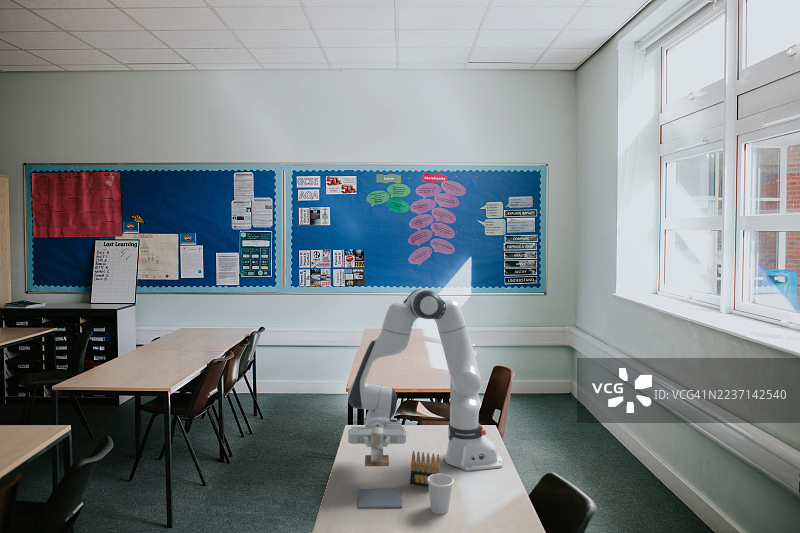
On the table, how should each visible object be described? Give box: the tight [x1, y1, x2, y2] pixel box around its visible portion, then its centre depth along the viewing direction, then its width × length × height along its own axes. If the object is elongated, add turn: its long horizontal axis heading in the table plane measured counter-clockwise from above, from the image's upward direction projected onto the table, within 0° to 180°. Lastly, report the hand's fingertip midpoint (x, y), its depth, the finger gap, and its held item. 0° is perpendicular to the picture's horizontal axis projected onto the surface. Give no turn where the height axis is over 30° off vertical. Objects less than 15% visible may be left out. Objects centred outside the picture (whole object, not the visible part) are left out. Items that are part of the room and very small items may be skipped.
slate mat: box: [358, 487, 403, 510], centre depth 172 cm, size 14×12×1 cm
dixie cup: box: [427, 473, 454, 515], centre depth 166 cm, size 8×8×10 cm
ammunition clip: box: [409, 450, 441, 488], centre depth 181 cm, size 11×2×12 cm, turn 75°
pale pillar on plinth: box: [364, 427, 390, 467], centre depth 176 cm, size 8×6×11 cm
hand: (377, 444), depth 175 cm, fingers closed on pale pillar on plinth, 4 cm apart
